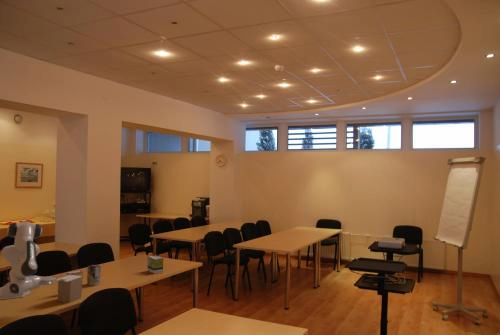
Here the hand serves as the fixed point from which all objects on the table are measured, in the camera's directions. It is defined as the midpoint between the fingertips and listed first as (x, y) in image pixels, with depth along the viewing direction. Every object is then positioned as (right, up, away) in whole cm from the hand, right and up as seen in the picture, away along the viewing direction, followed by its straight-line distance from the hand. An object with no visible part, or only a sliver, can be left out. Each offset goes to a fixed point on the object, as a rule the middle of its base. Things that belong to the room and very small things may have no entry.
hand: (49, 277), depth 272 cm
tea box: (+48, -26, +109) cm, 122 cm away
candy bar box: (0, -23, +37) cm, 44 cm away
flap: (+5, -6, +18) cm, 20 cm away
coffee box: (+6, -24, +61) cm, 66 cm away
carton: (+5, -22, +19) cm, 30 cm away
